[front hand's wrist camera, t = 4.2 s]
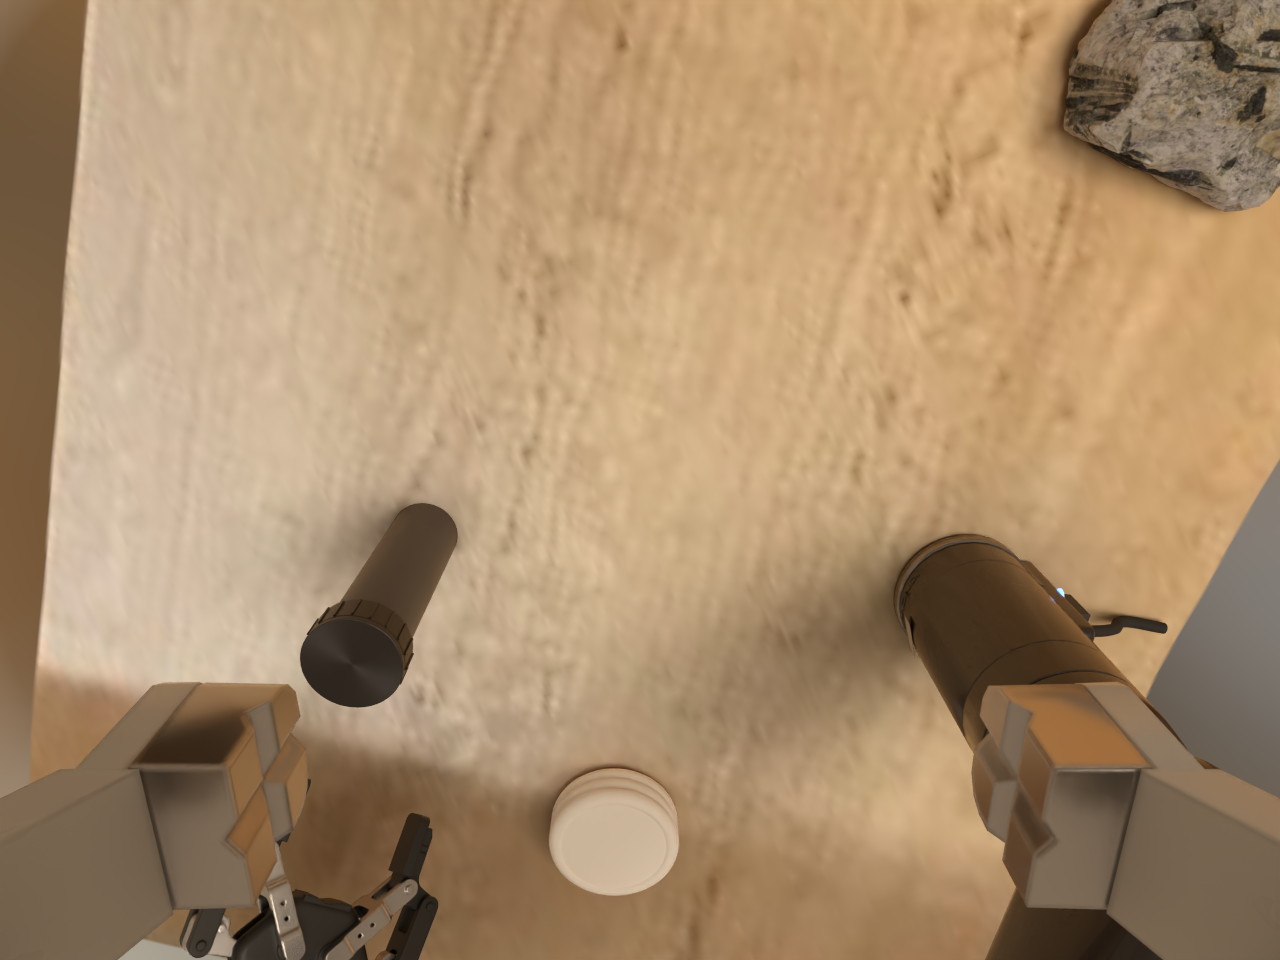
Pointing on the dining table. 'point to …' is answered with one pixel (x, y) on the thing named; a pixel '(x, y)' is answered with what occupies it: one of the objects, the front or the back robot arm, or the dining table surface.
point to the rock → (1184, 95)
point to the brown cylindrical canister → (408, 563)
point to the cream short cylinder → (614, 832)
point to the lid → (357, 653)
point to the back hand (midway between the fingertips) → (362, 796)
